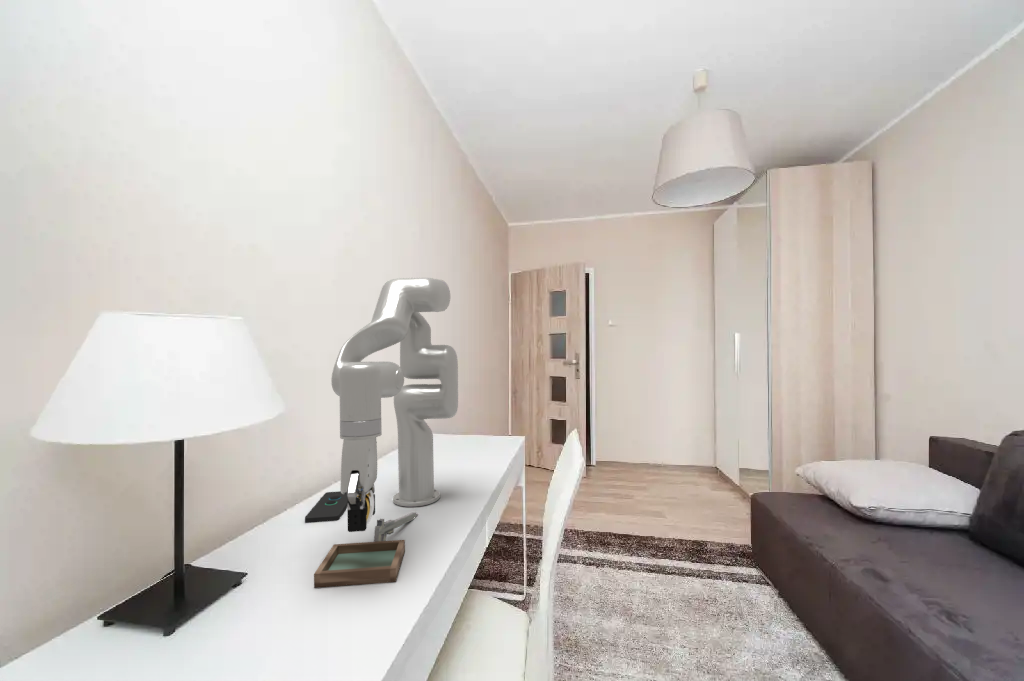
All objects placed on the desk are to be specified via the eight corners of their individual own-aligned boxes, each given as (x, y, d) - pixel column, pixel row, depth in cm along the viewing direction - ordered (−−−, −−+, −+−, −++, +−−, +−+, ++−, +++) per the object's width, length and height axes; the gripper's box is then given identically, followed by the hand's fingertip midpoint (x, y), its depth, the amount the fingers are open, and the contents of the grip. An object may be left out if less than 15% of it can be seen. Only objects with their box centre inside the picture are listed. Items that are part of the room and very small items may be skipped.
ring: (357, 537, 81) (357, 493, 81) (342, 535, 82) (342, 491, 82) (380, 523, 87) (379, 482, 88) (366, 521, 88) (365, 481, 88)
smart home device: (355, 489, 129) (339, 515, 109) (355, 495, 129) (339, 522, 109) (325, 491, 127) (303, 517, 108) (325, 497, 127) (303, 525, 108)
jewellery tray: (334, 556, 90) (333, 544, 90) (405, 551, 91) (404, 539, 91) (314, 588, 78) (313, 574, 78) (396, 581, 79) (395, 568, 79)
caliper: (379, 554, 91) (378, 522, 91) (374, 553, 91) (373, 522, 91) (418, 516, 111) (417, 490, 111) (414, 515, 112) (413, 490, 112)
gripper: (352, 422, 93) (353, 508, 93) (326, 438, 76) (327, 543, 75) (388, 420, 94) (390, 505, 94) (371, 436, 77) (373, 540, 76)
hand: (362, 521), depth 85 cm, fingers closed on ring, 7 cm apart
